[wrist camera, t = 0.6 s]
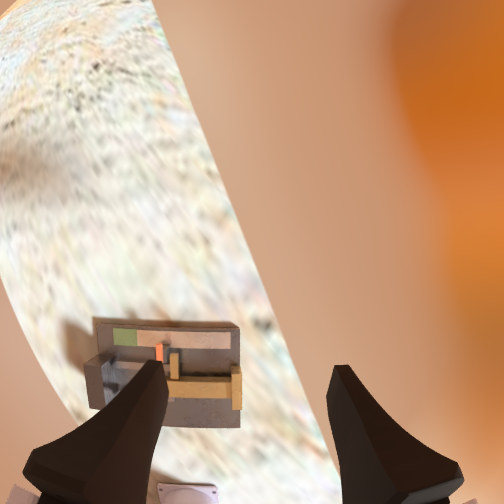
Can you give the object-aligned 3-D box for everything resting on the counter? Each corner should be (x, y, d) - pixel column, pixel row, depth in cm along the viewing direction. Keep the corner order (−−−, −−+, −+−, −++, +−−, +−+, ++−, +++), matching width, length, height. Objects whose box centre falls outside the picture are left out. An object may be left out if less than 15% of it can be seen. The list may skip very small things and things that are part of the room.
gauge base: (239, 424, 33) (243, 446, 27) (109, 416, 31) (94, 435, 26) (239, 327, 34) (242, 337, 28) (99, 322, 32) (80, 330, 27)
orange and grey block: (169, 358, 31) (165, 365, 28) (158, 357, 31) (153, 365, 28) (169, 339, 31) (164, 345, 28) (157, 338, 31) (152, 344, 28)
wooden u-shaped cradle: (240, 398, 32) (242, 409, 29) (167, 397, 31) (163, 408, 28) (239, 351, 32) (241, 358, 29) (165, 350, 31) (160, 357, 28)
